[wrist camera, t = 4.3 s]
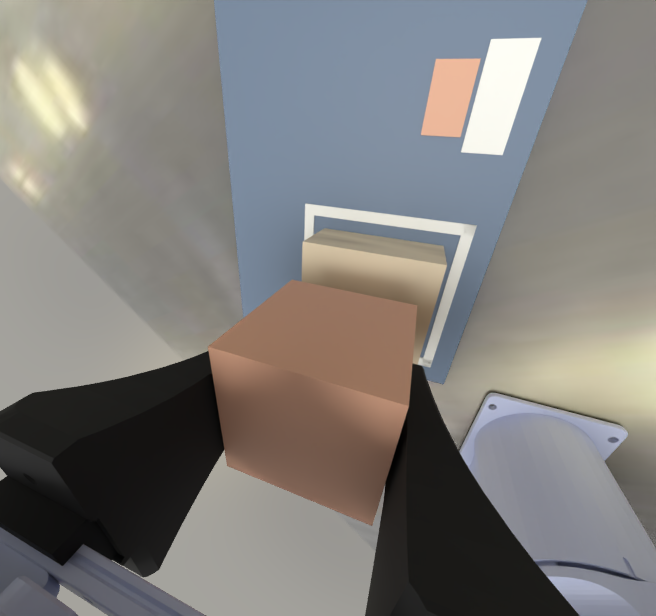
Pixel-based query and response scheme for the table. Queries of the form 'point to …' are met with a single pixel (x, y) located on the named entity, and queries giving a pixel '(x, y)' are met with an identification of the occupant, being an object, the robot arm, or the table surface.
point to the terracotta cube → (317, 393)
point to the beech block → (378, 270)
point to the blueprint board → (384, 130)
